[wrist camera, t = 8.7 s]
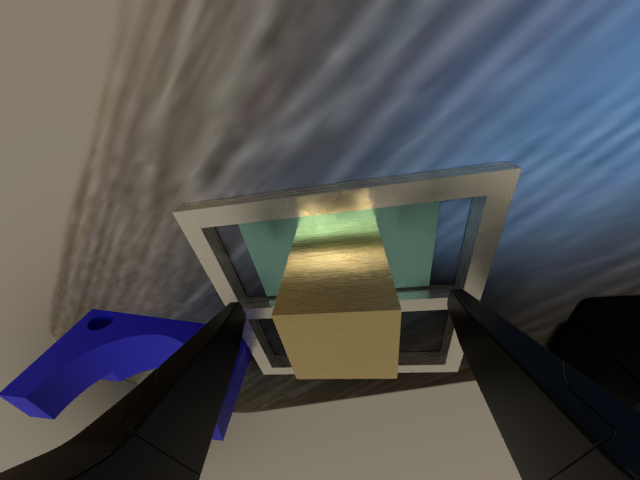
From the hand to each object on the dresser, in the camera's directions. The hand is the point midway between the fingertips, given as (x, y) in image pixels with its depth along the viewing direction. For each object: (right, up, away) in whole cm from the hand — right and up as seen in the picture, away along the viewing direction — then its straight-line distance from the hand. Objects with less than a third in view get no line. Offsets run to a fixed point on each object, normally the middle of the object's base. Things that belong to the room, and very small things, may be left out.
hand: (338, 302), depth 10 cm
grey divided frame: (+1, -1, +5) cm, 5 cm away
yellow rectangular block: (0, +2, +3) cm, 3 cm away
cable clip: (-12, -5, +9) cm, 16 cm away
